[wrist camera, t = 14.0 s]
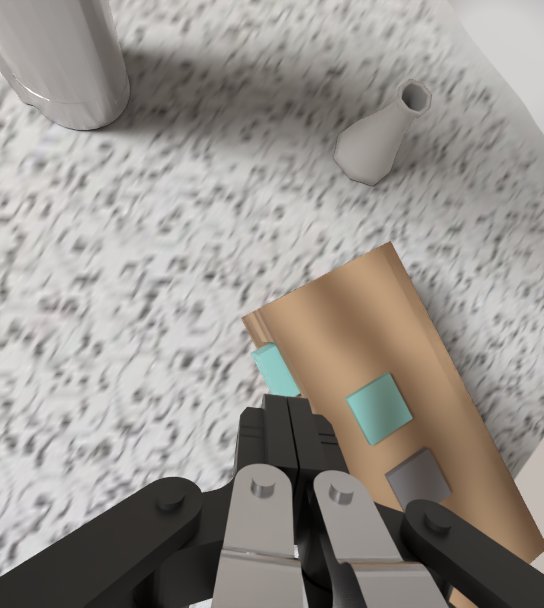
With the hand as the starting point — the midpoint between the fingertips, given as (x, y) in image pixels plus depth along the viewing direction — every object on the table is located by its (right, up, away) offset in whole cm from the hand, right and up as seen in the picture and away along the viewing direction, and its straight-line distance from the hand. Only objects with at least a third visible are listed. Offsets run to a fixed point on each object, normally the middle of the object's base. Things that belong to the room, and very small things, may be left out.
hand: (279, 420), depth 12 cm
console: (+7, -7, +25) cm, 27 cm away
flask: (+10, +21, +29) cm, 37 cm away
